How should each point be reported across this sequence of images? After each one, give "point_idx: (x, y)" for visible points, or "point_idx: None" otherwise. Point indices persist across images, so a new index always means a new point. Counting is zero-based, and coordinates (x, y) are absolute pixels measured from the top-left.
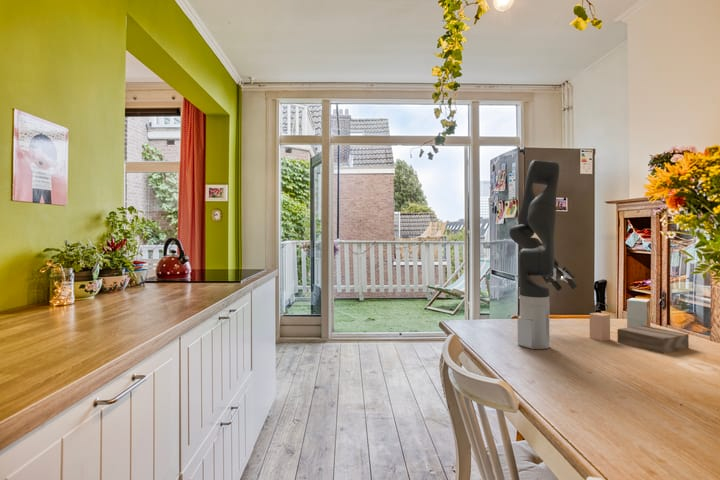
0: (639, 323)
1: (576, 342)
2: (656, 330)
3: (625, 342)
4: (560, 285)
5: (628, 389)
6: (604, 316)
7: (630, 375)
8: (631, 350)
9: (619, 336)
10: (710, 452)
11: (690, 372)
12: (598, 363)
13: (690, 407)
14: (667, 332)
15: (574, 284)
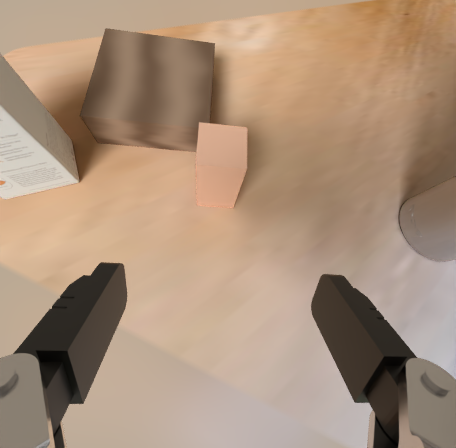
0: (53, 129)
1: (308, 198)
2: (127, 74)
3: None
4: (343, 290)
5: (427, 49)
6: (230, 128)
7: (382, 63)
8: (251, 110)
9: None
10: None
11: (286, 30)
12: (385, 105)
13: (403, 8)
14: (128, 55)
15: (109, 284)
